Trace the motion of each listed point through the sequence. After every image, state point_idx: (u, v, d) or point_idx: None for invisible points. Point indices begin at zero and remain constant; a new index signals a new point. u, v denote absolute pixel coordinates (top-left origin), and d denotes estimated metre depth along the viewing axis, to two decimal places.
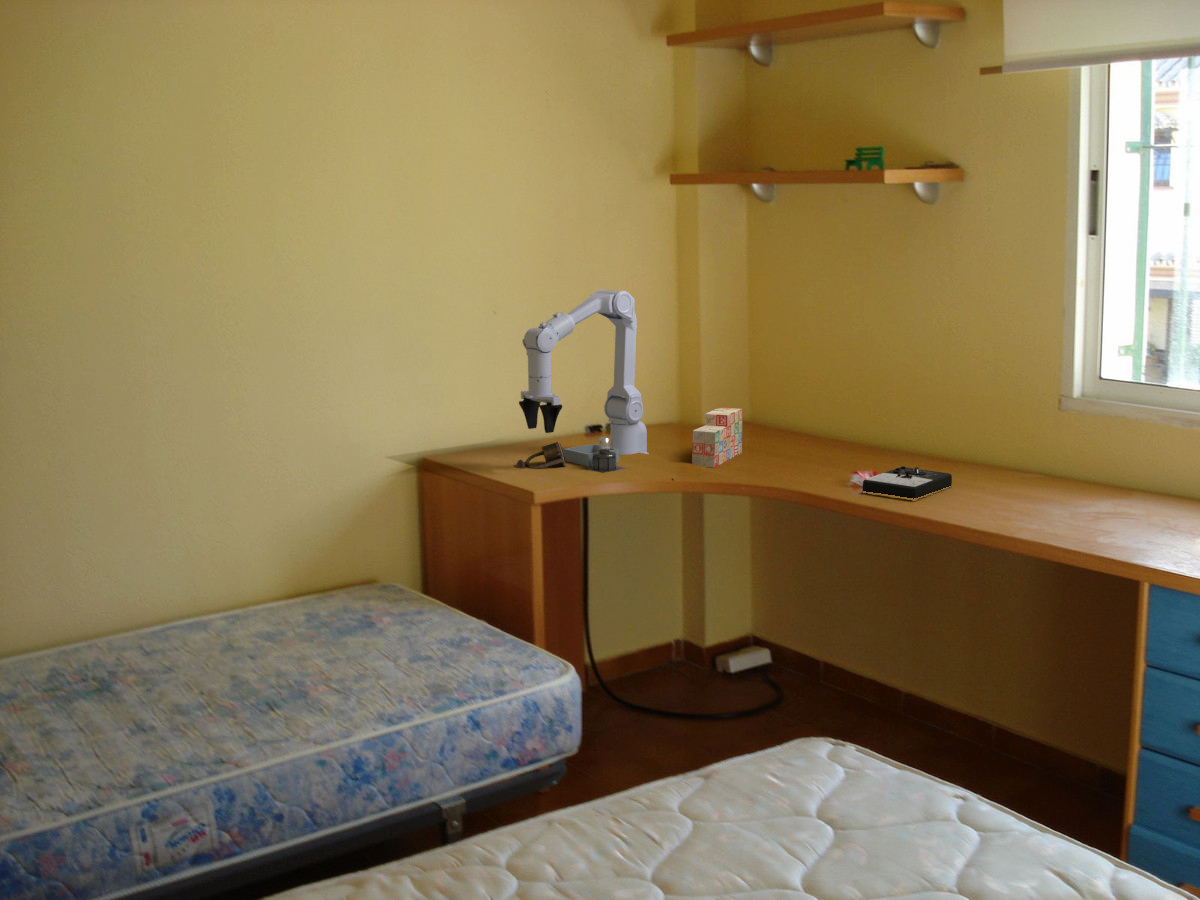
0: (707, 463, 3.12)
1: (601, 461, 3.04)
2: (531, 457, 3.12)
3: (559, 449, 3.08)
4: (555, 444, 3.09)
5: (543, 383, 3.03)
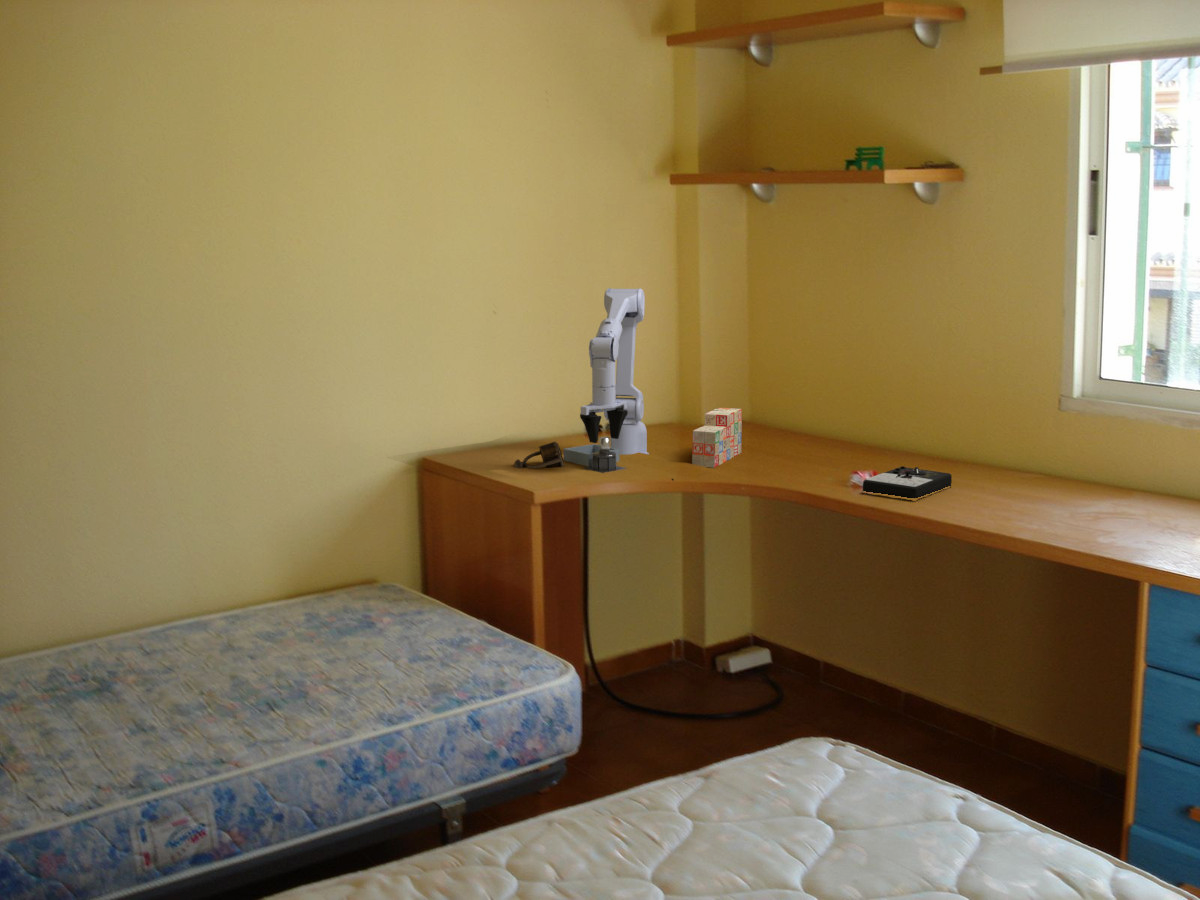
0: (708, 463, 3.12)
1: (601, 461, 3.04)
2: (528, 457, 3.12)
3: (557, 449, 3.08)
4: (553, 444, 3.09)
5: (593, 392, 3.02)
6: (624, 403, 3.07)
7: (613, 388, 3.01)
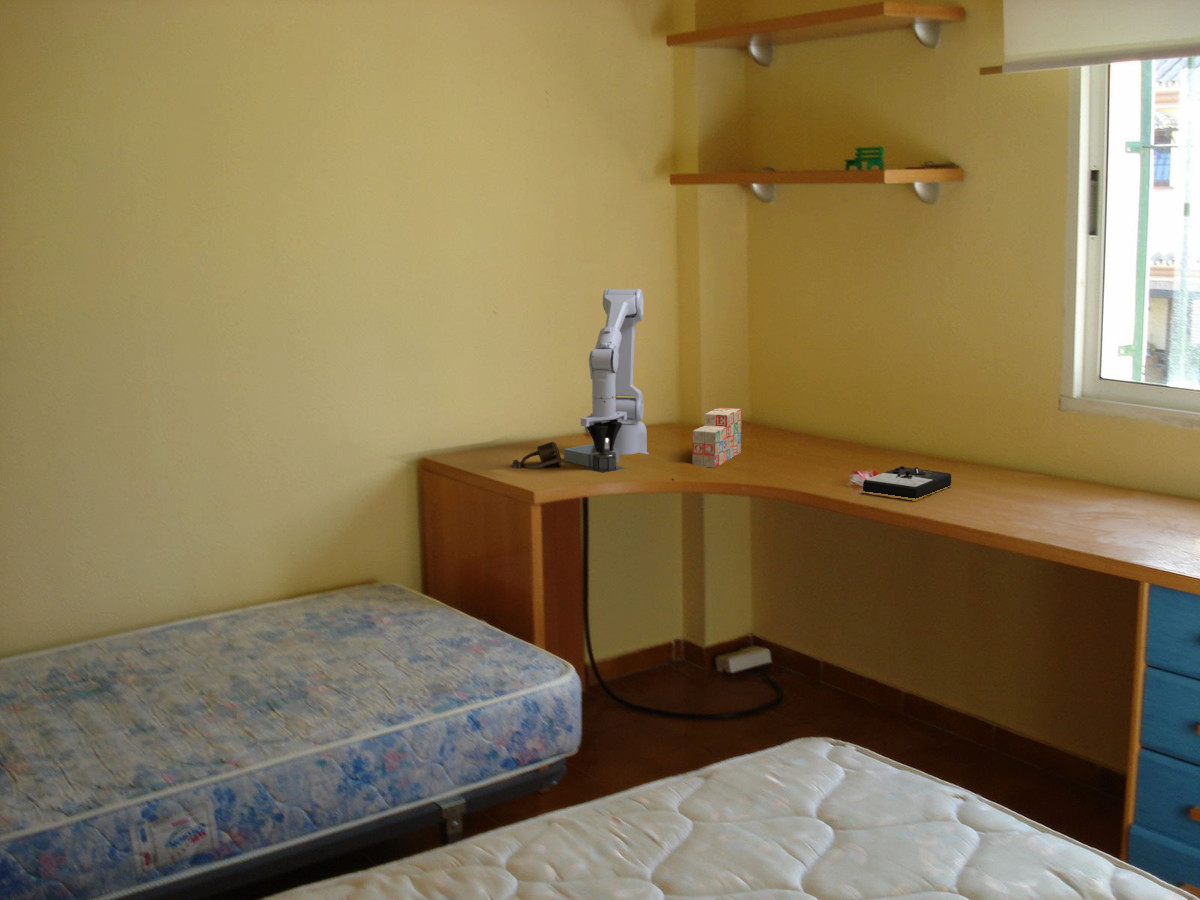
0: (708, 463, 3.11)
1: (601, 461, 3.04)
2: (526, 457, 3.12)
3: (555, 449, 3.08)
4: (551, 444, 3.09)
5: (594, 404, 3.02)
6: (624, 414, 3.08)
7: (613, 399, 3.02)
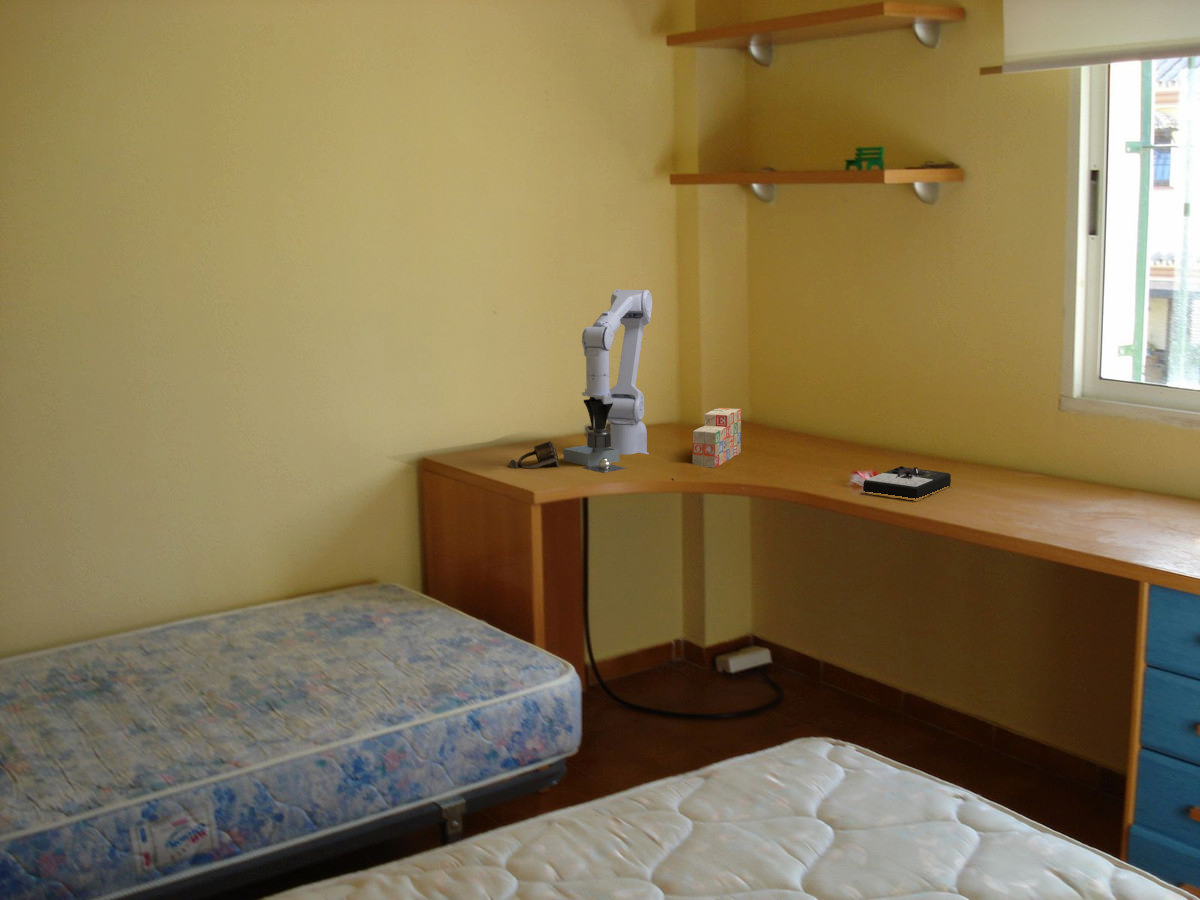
0: (708, 463, 3.11)
1: (606, 439, 3.08)
2: (523, 457, 3.12)
3: (552, 448, 3.08)
4: (548, 444, 3.09)
5: (598, 381, 3.04)
6: None
7: None
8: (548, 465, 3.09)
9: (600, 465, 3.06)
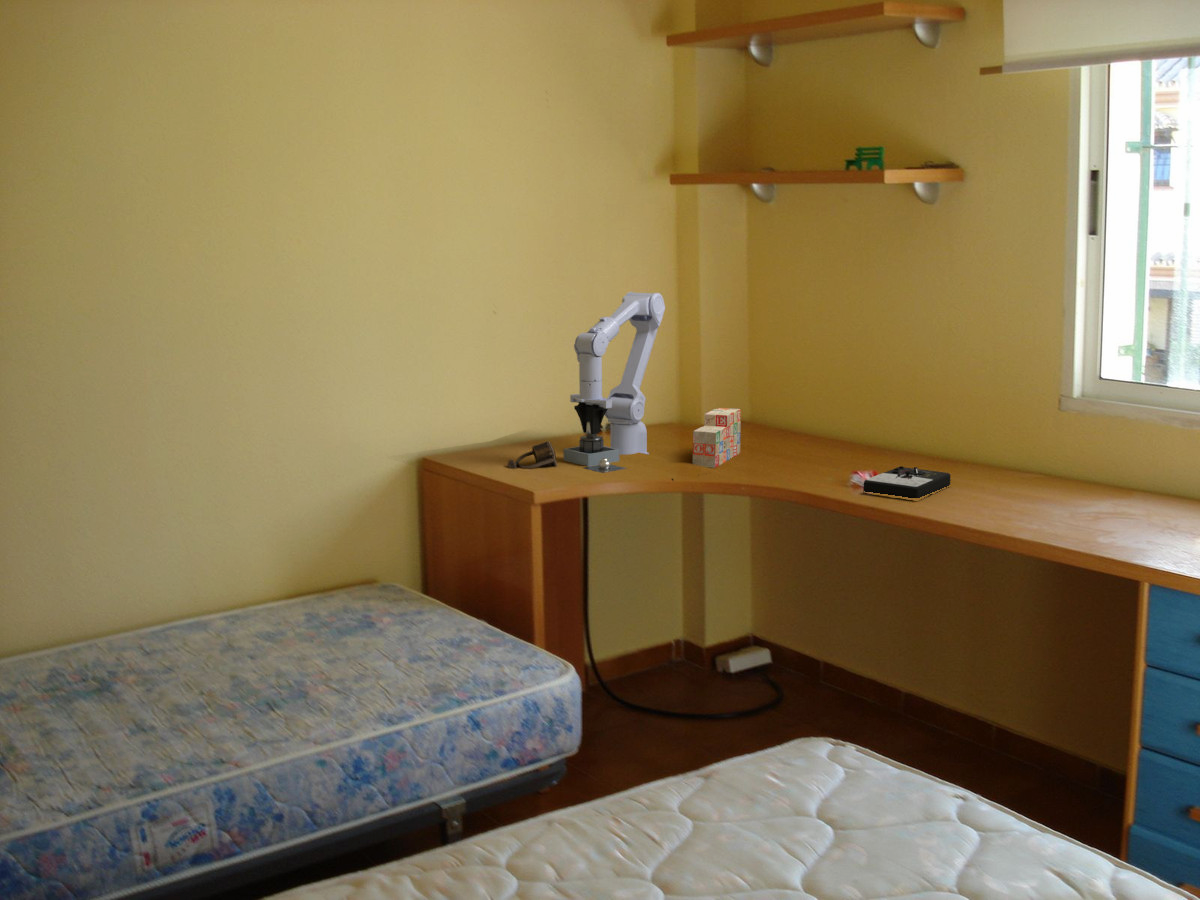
0: (708, 463, 3.11)
1: (601, 443, 3.14)
2: (521, 457, 3.12)
3: (550, 449, 3.08)
4: (546, 444, 3.09)
5: (595, 387, 3.10)
6: None
7: None
8: (546, 465, 3.09)
9: (600, 465, 3.06)
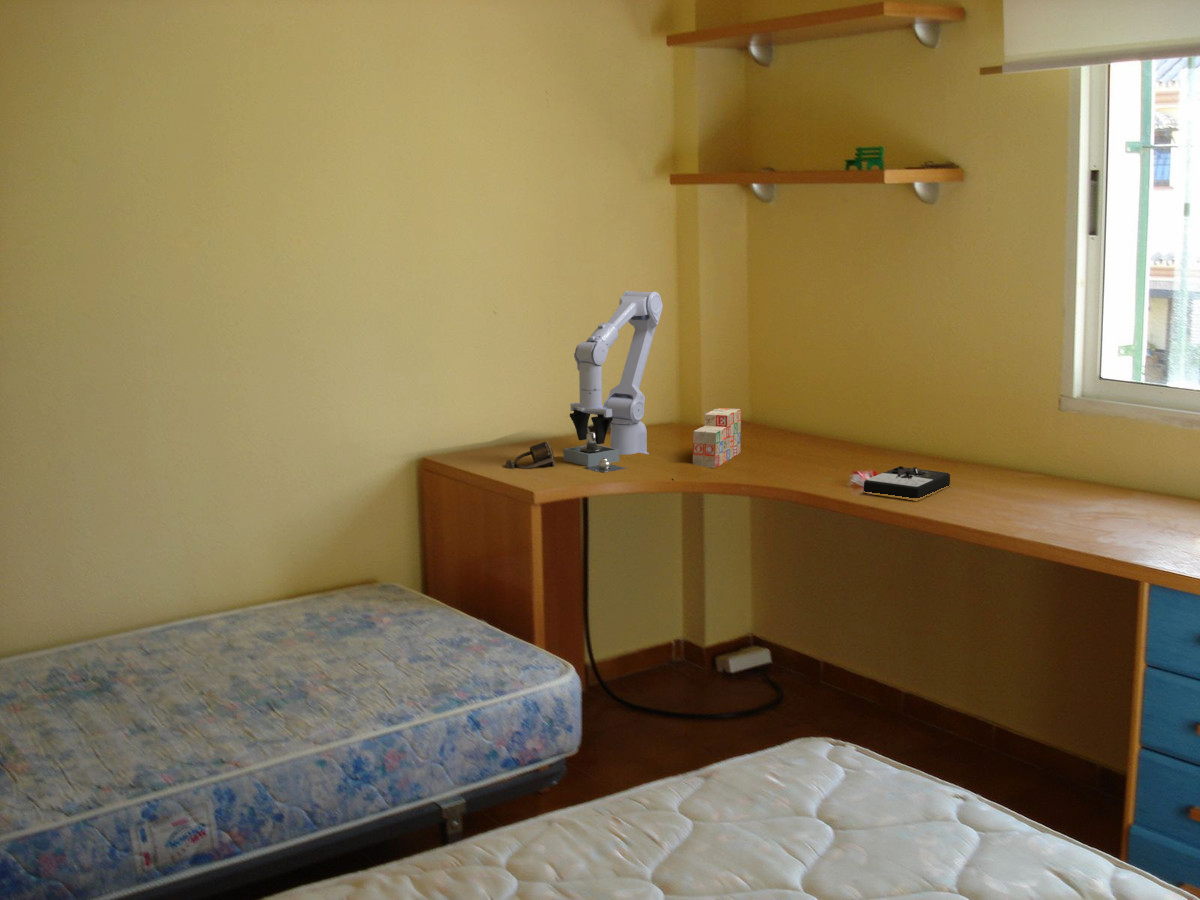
0: (708, 463, 3.11)
1: None
2: (519, 457, 3.12)
3: (548, 449, 3.08)
4: (544, 444, 3.09)
5: (595, 396, 3.10)
6: None
7: None
8: (544, 465, 3.09)
9: (600, 465, 3.06)
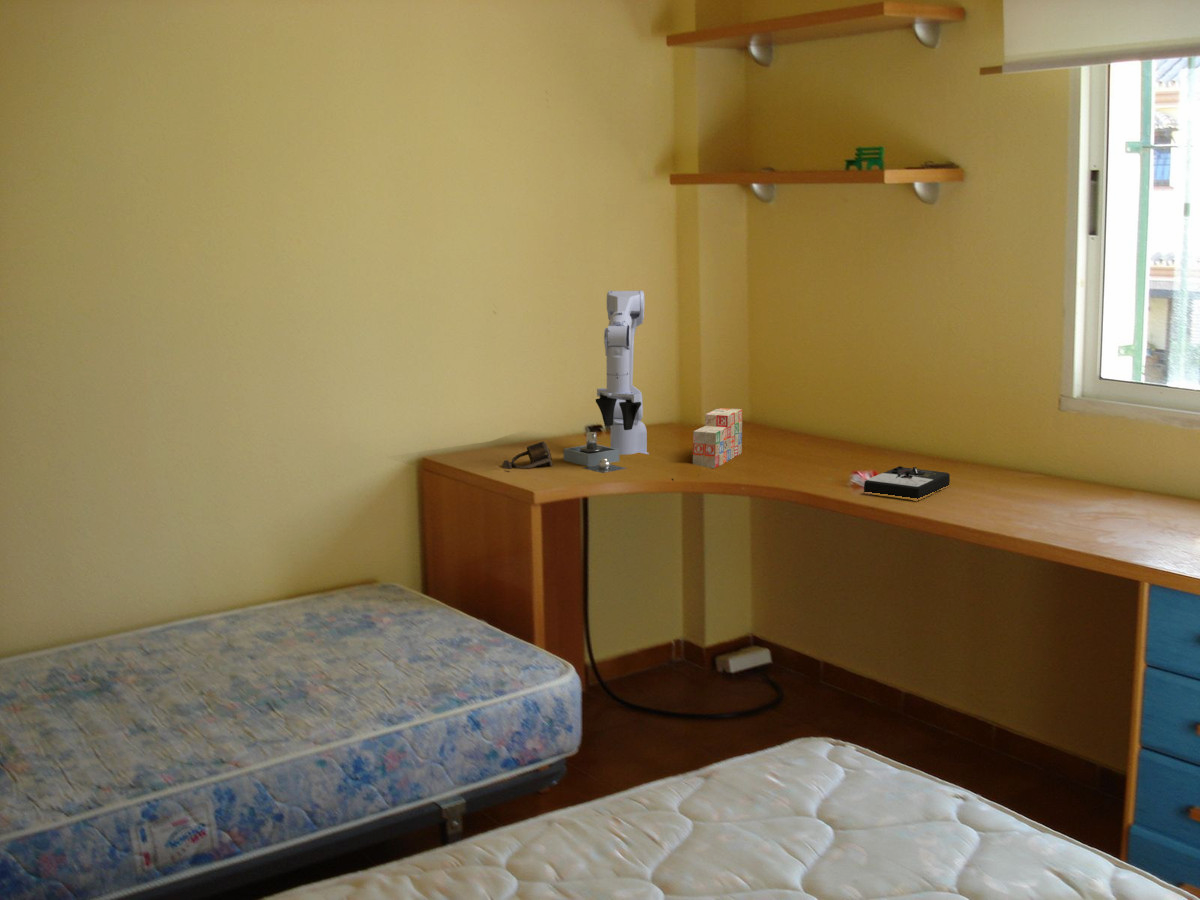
0: (708, 463, 3.11)
1: None
2: (516, 457, 3.12)
3: (546, 449, 3.08)
4: (541, 444, 3.09)
5: (622, 381, 3.04)
6: None
7: None
8: (542, 465, 3.09)
9: (600, 465, 3.06)
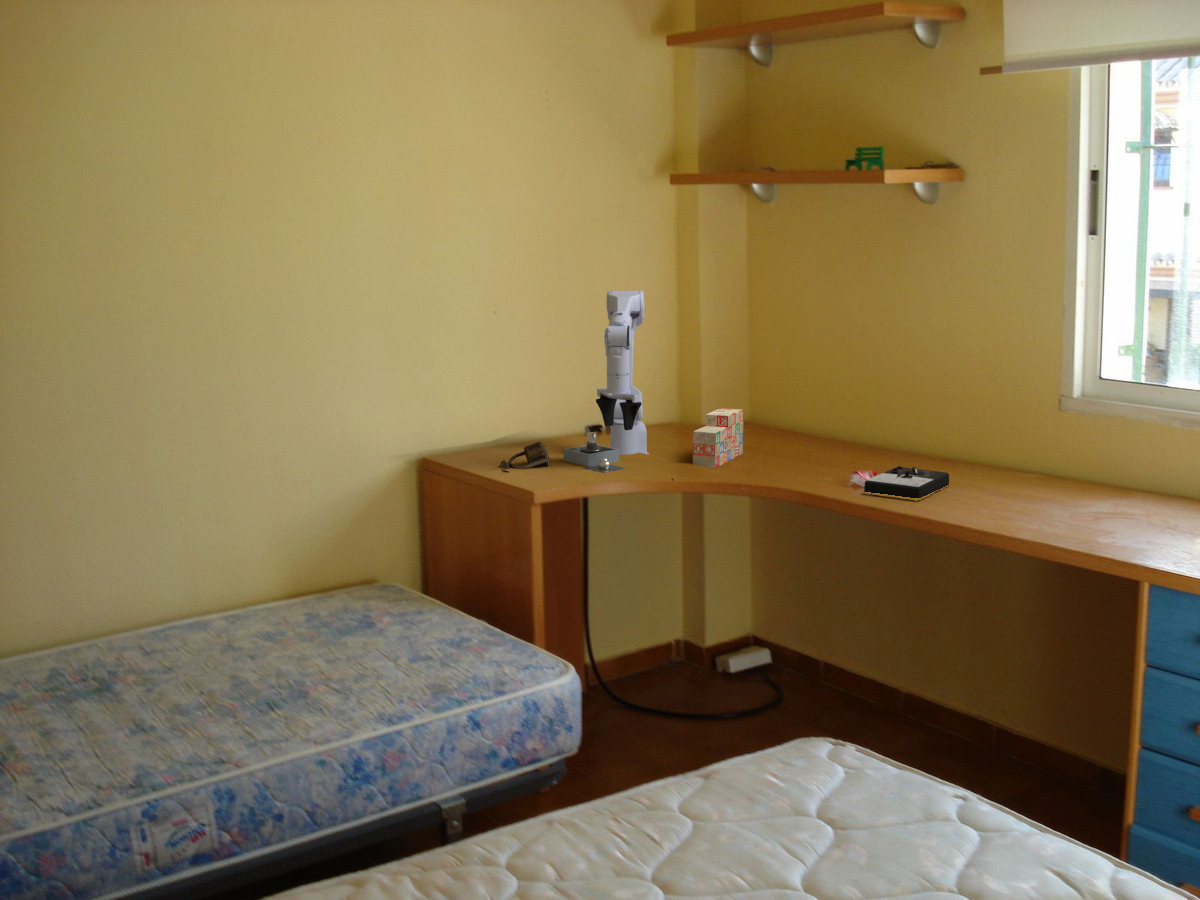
0: (708, 464, 3.11)
1: None
2: (513, 457, 3.12)
3: (543, 449, 3.08)
4: (538, 444, 3.09)
5: (623, 381, 3.04)
6: None
7: None
8: (539, 465, 3.09)
9: (600, 465, 3.06)
